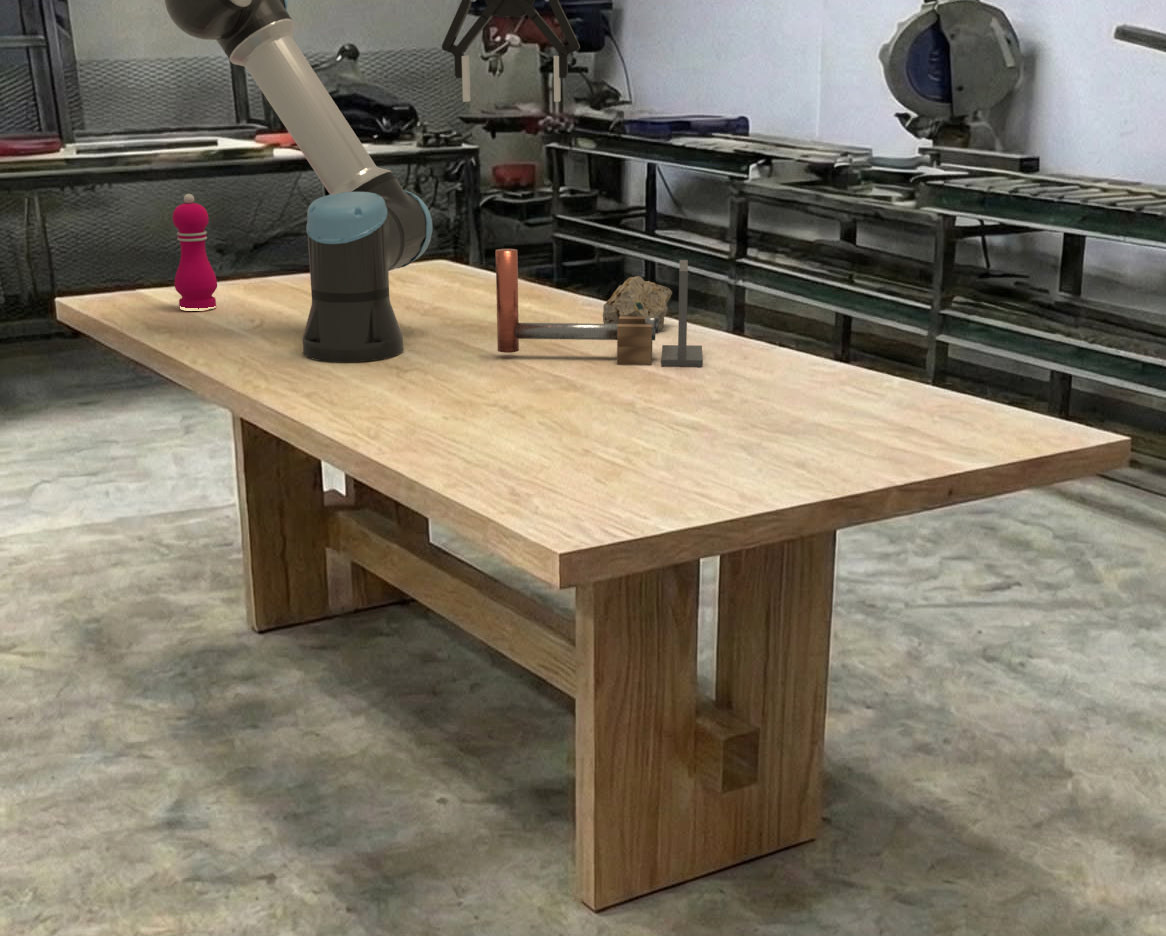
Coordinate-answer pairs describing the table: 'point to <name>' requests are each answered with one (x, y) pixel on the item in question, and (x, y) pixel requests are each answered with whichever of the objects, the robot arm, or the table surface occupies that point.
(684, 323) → the eye bracket
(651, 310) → the rock
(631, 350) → the cradle
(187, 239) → the pepper mill
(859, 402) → the table surface
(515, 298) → the hook
